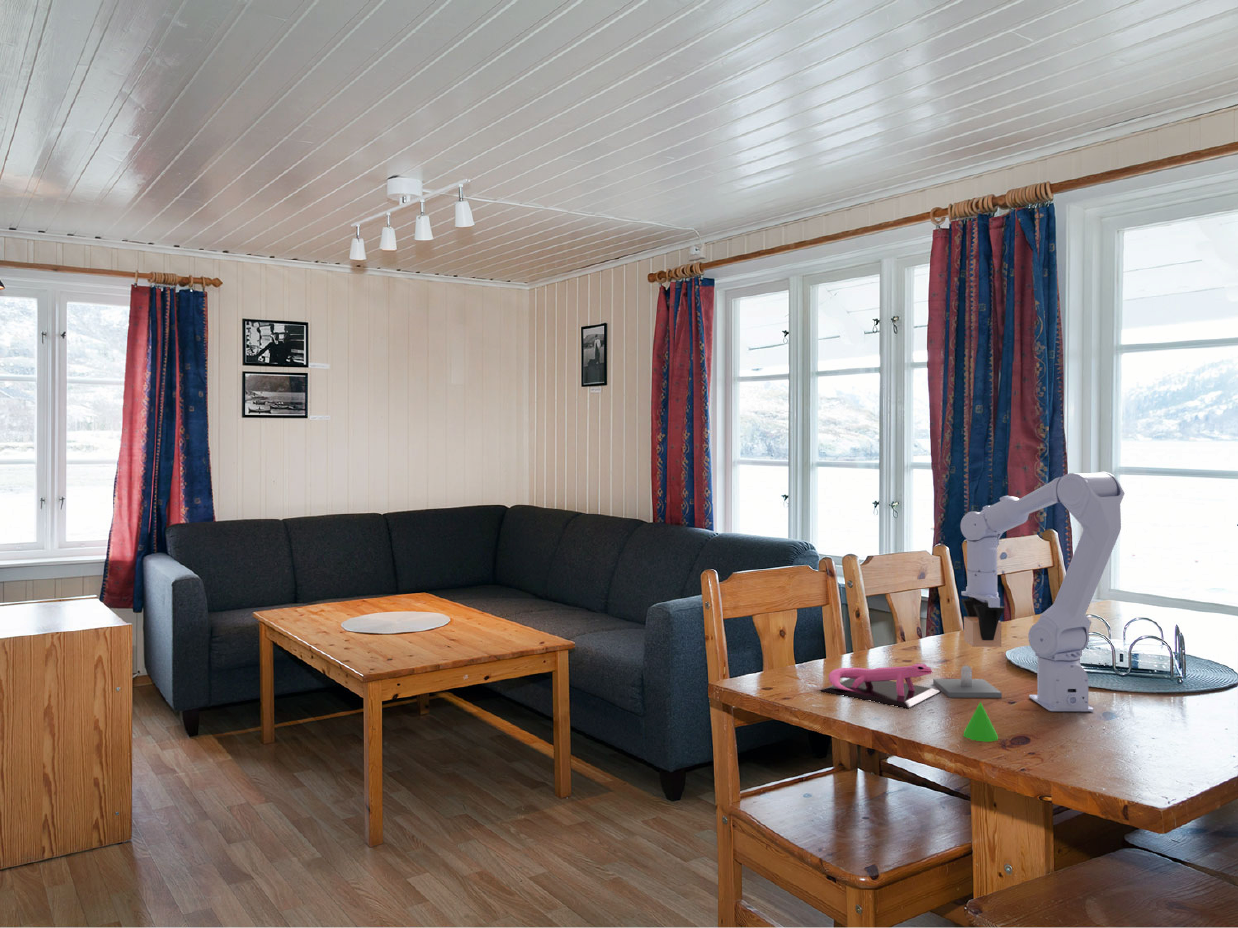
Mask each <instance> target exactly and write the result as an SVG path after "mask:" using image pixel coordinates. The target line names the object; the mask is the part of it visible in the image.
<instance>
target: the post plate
mask: <svg viewBox="0 0 1238 928" xmlns="http://www.w3.org/2000/svg"><path fill="white" fill-rule="evenodd" d="M932 681H933V685H934V686H935V687H936V688H938V689H939V691H941V693H943V694H945V696H947V697H948V698H949V699H950V698H953V699H954V698H958V699H959V698H964V699H965V698H976V699H977V698H978V699H979V698H984V699H985V698H987V699H989V698H990V699H993V698H999V699H1000V698H1001V699H1002V697H1003V696H1002V691H1000V690H999V689H997V688H996V687H995V686H994V685H992V684H991V683H990V682H988V681H986V680H985V679H984V678H973V671H972V667H971V666H969V665H967V664H965V665H962V667H961V668H960V678H933V679H932Z"/></svg>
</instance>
